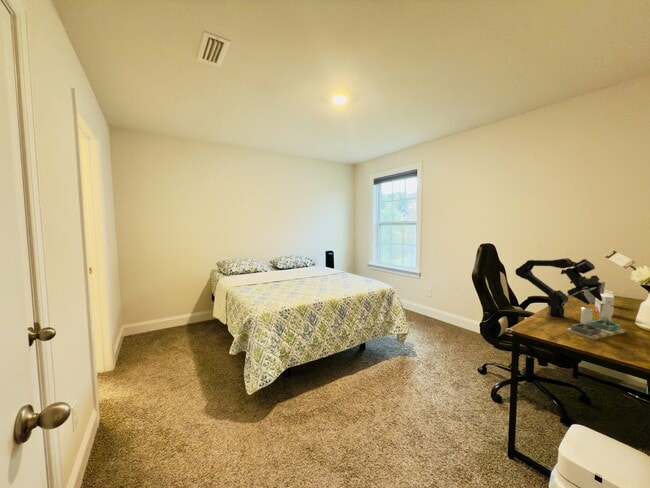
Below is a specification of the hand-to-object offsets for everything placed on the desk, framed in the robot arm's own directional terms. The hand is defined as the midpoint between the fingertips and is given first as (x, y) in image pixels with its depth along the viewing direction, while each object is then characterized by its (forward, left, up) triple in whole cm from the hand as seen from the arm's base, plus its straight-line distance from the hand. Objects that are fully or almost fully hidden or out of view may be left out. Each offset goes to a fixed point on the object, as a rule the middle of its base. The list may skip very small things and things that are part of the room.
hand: (595, 302), depth 156 cm
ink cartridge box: (+17, +27, -13) cm, 35 cm away
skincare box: (+24, +54, -13) cm, 61 cm away
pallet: (-4, -11, -13) cm, 17 cm away
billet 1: (-10, -15, -12) cm, 22 cm away
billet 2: (+2, -6, -12) cm, 13 cm away
